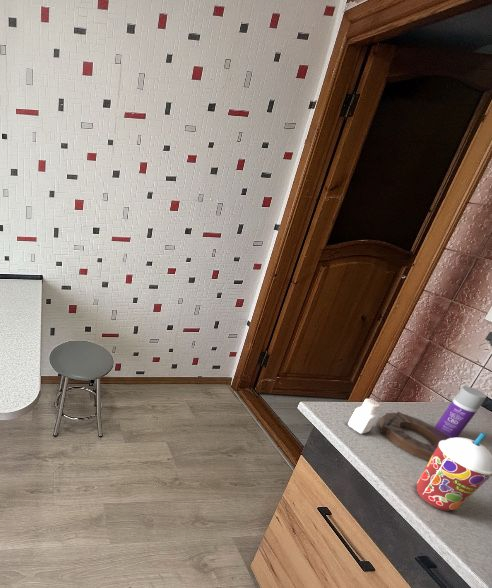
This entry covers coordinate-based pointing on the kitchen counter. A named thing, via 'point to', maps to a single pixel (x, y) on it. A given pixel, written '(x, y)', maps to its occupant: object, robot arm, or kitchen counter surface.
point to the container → (460, 411)
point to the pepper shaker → (364, 416)
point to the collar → (393, 431)
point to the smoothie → (455, 472)
